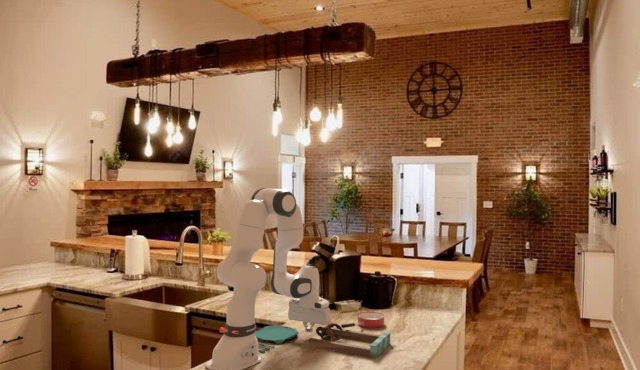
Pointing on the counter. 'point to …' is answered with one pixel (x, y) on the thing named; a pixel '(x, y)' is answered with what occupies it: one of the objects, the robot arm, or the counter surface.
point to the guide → (375, 348)
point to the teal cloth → (274, 335)
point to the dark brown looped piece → (326, 331)
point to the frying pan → (368, 320)
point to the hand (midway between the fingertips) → (309, 331)
